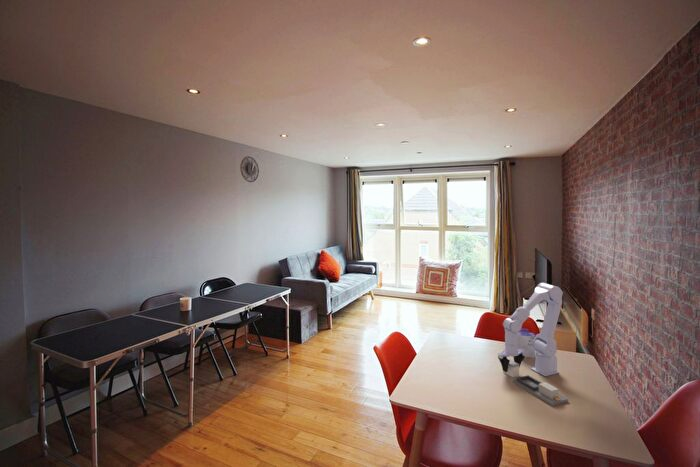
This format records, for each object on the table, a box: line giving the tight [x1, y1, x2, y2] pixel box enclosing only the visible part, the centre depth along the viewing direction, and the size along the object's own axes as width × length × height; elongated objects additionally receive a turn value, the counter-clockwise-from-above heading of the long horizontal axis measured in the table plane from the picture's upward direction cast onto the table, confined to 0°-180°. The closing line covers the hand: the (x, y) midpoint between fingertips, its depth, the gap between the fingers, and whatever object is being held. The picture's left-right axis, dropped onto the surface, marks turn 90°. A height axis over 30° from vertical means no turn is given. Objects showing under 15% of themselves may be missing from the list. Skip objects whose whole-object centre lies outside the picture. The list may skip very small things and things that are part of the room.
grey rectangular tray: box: [512, 374, 569, 407], centre depth 139 cm, size 9×20×5 cm, turn 20°
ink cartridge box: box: [518, 328, 536, 359], centre depth 175 cm, size 10×6×14 cm, turn 72°
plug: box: [502, 358, 520, 379], centre depth 155 cm, size 4×6×6 cm, turn 20°
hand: (510, 370), depth 155 cm, fingers open, 7 cm apart
